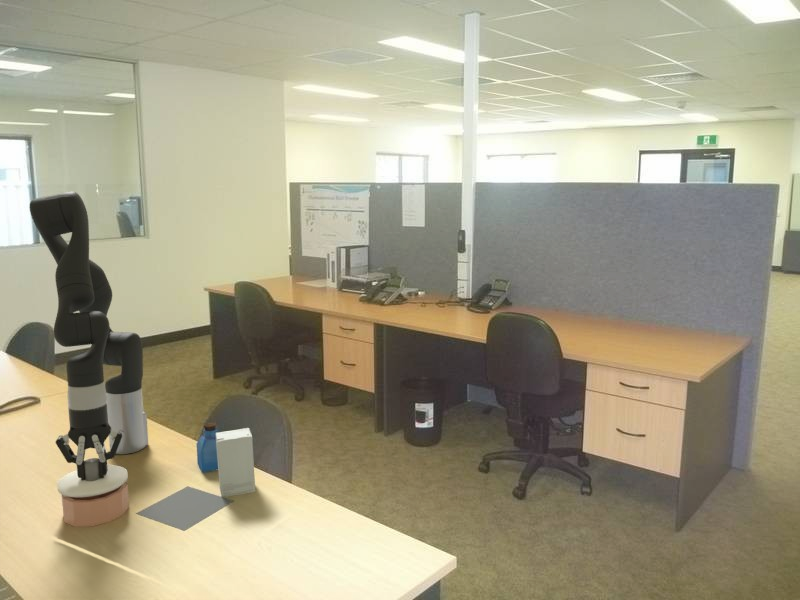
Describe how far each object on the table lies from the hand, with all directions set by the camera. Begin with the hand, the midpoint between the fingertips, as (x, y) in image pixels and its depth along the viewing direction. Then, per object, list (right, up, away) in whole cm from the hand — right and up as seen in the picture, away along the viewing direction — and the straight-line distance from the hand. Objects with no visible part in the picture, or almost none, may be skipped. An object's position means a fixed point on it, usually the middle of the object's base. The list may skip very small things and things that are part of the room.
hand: (93, 477), depth 138 cm
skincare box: (+29, -7, +12) cm, 32 cm away
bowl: (0, -8, +1) cm, 9 cm away
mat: (+19, -8, +4) cm, 21 cm away
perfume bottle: (+19, -5, +25) cm, 32 cm away
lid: (0, -2, 0) cm, 2 cm away
